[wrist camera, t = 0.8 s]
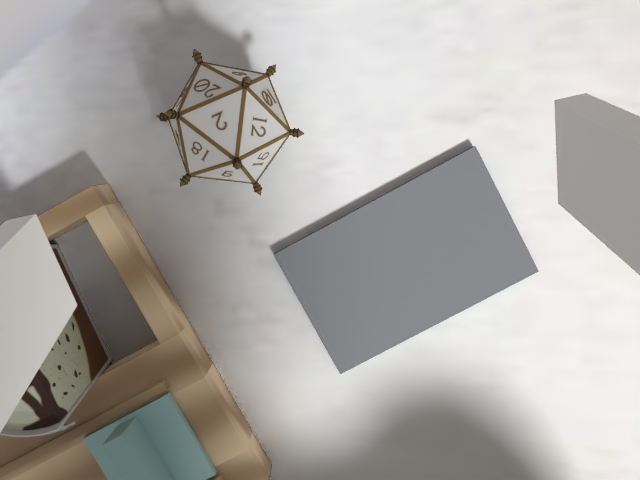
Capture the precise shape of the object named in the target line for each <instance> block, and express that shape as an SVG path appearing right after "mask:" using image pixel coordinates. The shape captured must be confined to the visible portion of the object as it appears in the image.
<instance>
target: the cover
mask: <svg viewBox="0 0 640 480" xmlns="http://www.w3.org/2000/svg"><path fill="white" fill-rule="evenodd" d="M83 440H84V442H85V444H86V445H87V447H88V449H89V450H90V452H91V453H92V455H93V457H94V458H95V460H96V462H97V463H98V465H99V466H100V468H101V470H102V471H103V473H104V475H105V476H106V478H107V479H108V480H206V479H208V478H210V477H212V476H214V475H216V472H217V471H216V469H215V467H214V466H213V464H212V462H211V461H210V459H209V457H208V455H207V454H206V452H205V450H204V449H203V447H202V445H201V444H200V442H199V440H198V439H197V437H196V435H195V434H194V432H193V430H192V428H191V427H190V425H189V423H188V422H187V420H186V418H185V417H184V415H183V413H182V412H181V410H180V408H179V407H178V405H177V403H176V402H175V400H174V398H173V396H172V395H171V393H170V392H168V393H166V394H164V395H162V396H160V397H158V398H156V399H154V400H153V401H151V402H149V403H147V404H145V405H143V406H141V407H139V408H137V409H135V410H134V411H132V412H130V413H128V414H126V415H124V416H122V417H120V418H118V419H117V420H115V421H113V422H111V423H109V424H107V425H105V426H103V427H101V428H99V429H98V430H96V431H94V432H92V433H90V434H88V435H86V436H85V437H84V438H83Z"/></svg>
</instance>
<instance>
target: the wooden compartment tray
mask: <svg viewBox="0 0 640 480" xmlns="http://www.w3.org/2000/svg"><path fill="white" fill-rule="evenodd" d="M37 217H38V219H39V221H40V224H41V226H42V228H43V230H44V232H45V235H46V237H47V239H48V241H49V242H50V241H52V240H54V239H55V238H57V237H59V236H61V235H63V234H64V233H66V232H68V231H70V230H71V229H73V228H75V227H77V226H79V225H80V224H82V223H84V222H86V221H88V222H89V224H90V226H91V227H92V229H93V231H94V232H95V234H96V236H97V237H98V239H99V241H100V243H101V244H102V246H103V248H104V249H105V251H106V253H107V254H108V256H109V258H110V260H111V261H112V263H113V265H114V266H115V268H116V270H117V271H118V273H119V275H120V276H121V278H122V280H123V282H124V283H125V285H126V287H127V288H128V290H129V292H130V293H131V295H132V297H133V299H134V300H135V302H136V304H137V305H138V307H139V309H140V310H141V312H142V314H143V316H144V317H145V319H146V321H147V322H148V324H149V326H150V327H151V329H152V331H153V332H154V334H155V336H156V338H157V339H158V340H156V341H154V342H152V343H150V344H148V345H146V346H145V347H143V348H141V349H139V350H137V351H135V352H133V353H132V354H130V355H128V356H126V357H124V358H122V359H120V360H118V361H117V362H115V363H113V364H111V365H109V366H107V368H106V369H105V370H104V371H103V373H102V374H101V375H100V376H99V377H98V379H97V381H96V382H95V383H94V385H93V386H92V387H91V389H90V390H89V391H88V393H87V394H86V395H85V397H84V398H83V399H82V401H81V402H80V403H79V405H78V406H77V407H76V409H75V410H74V411H73V412H72V414H71V415H70V416H69V418H68V419H67V420H66V422H65V423H64V424H63V425H65V424H68V423H71V422H74V421H75V423H76V424H74V425H72V426H70V427H68V428H66V429H65V430H62V431H58V432H55V433H52V434H47V435H41V436H32V437H10V436H4V435H0V480H108V479H107V478H106V476H105V475H104V473H103V471H102V470H101V468H100V466H99V465H98V463H97V462H96V460H95V458H94V457H93V455H92V453H91V452H90V450H89V449H88V447H87V445H86V444H85V442H84V440H83V438H84V437H85V436H86V435H88V434H90V433H92V432H94V431H96V430H98V429H99V428H101V427H103V426H105V425H107V424H109V423H111V422H113V421H115V420H117V419H118V418H120V417H122V416H124V415H126V414H128V413H130V412H132V411H134V410H135V409H137V408H139V407H141V406H143V405H145V404H147V403H149V402H151V401H153V400H154V399H156V398H158V397H160V396H162V395H164V394H166V393H168V392H170V393H171V395H172V396H173V398H174V400H175V402H176V403H177V405H178V407H179V408H180V410H181V412H182V413H183V415H184V417H185V418H186V420H187V422H188V423H189V425H190V427H191V428H192V430H193V432H194V434H195V435H196V437H197V439H198V440H199V442H200V444H201V445H202V447H203V449H204V450H205V452H206V454H207V455H208V457H209V459H210V461H211V462H212V464H213V466H214V467H215V469H216V471H217V472H216V475H214V476H212V477H210V478H208V479H206V480H269V478H270V472H271V467H272V464H271V462H270V461H269V459H268V457H267V455H266V454H265V452H264V450H263V449H262V447H261V445H260V443H259V442H258V440H257V438H256V437H255V435H254V433H253V431H252V430H251V428H250V426H249V424H248V423H247V421H246V419H245V418H244V416H243V414H242V412H241V411H240V409H239V407H238V406H237V404H236V402H235V400H234V399H233V397H232V395H231V393H230V392H229V390H228V388H227V387H226V385H225V383H224V381H223V380H222V378H221V376H220V375H219V373H218V371H217V369H216V368H215V366H214V364H213V362H212V361H211V359H210V357H209V356H208V354H207V352H206V350H205V349H204V347H203V345H202V344H201V342H200V340H199V338H198V337H197V335H196V333H195V332H194V330H193V328H192V326H191V325H190V323H189V321H188V319H187V318H186V316H185V314H184V313H183V311H182V309H181V307H180V306H179V304H178V302H177V301H176V299H175V297H174V295H173V294H172V292H171V290H170V288H169V287H168V285H167V283H166V282H165V280H164V278H163V276H162V275H161V273H160V271H159V270H158V268H157V266H156V264H155V263H154V261H153V259H152V257H151V256H150V254H149V252H148V251H147V249H146V247H145V245H144V244H143V242H142V240H141V239H140V237H139V235H138V233H137V232H136V230H135V228H134V226H133V225H132V223H131V221H130V220H129V218H128V216H127V214H126V213H125V211H124V209H123V208H122V206H121V204H120V202H119V201H118V199H117V197H116V195H115V194H114V192H113V190H112V189H111V187H110V185H109V184H105V185H92V186H91V187H89V188H87V189H85V190H84V191H82V192H80V193H78V194H76V195H75V196H73V197H71V198H69V199H67V200H66V201H64V202H62V203H60V204H59V205H57V206H55V207H53V208H51V209H50V210H48V211H46V212H44V213H42V214H41V215H39V216H37Z"/></svg>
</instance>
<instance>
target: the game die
mask: <svg viewBox="0 0 640 480" xmlns="http://www.w3.org/2000/svg"><path fill="white" fill-rule="evenodd" d="M192 57H194V59H195V60H194V61H196V62H197V64H198V65H197V67H196V68H195V70H194V72H193V74H192V75H191V77H190V79H189V81H188V82H187V84H186V86H185V88H184V89H183V91H182V93H181V95H180V96H179V98H178V100H177V102H176V103H175V105H174V107H173V109H170V110H168V111H167V112H165V114H164V113H160V115H158V116H157V117H158V118H159V119H160V120H161V121H165V122H166V121H167V120H169V123H170V126H171V129H172V132H173V135H174V137H175V140H176V143H177V146H178V149H179V152H180V155H181V158H182V161H183V164H184V167H185V169H186V172H187V174H186V175H185V176H183V177H182V179H181V178H180V180H181V182H180V187H181V186H183V185H186V184H187V183H188V182H189V181H190V178H191V177H199V178H208V179H216V180H225V181H234V182H242V183H251V184H253V188H254V190H255V191H254V192H257V193H258V194H259V195H261V190H262V188H261V186H260V185H259V183H258V180H259V178H260V177H261V176H262V174H263V173H264V171H265V170H266V168H267V167H268V166H269V164H270V163H271V161H272V160H273V158H274V157H275V155H276V154H277V153H278V151H279V150H280V148H281V147H282V145H283V144H284V143H285V141H286V140H287V138H288V137H289V135H292V136H293V137H297V138H298V137H299V136H301V135H303V134H304V133H303V132H302V131H300V130H299V128H298V129H295V128H294V129H292V130H291V129H290V127H289V125H288V122H287V120H286V117H285V115H284V112H283V110H282V107H281V105H280V103H279V100H278V98H277V95H276V93H275V90H274V88H273V85H272V83H271V80H270V78H269V77H270V76H271V75H273V73H274V72H276V71H275V69H276V64H275V65H273V66H269V68H268V69H267V71H266V73H259V72H254V71H248V70H243V69H238V68H232V67H227V66H222V65H216V64H211V63H205V62H203V61H202V57H201V53H199V52H198V51H196V50H195V49H194V51H193V56H192Z"/></svg>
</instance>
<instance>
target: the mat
mask: <svg viewBox="0 0 640 480" xmlns="http://www.w3.org/2000/svg"><path fill="white" fill-rule="evenodd" d="M274 256H275V257H276V259H277V261H278V263H279V265H280V266H281V268H282V270H283V272H284V274H285V275H286V277H287V279H288V281H289V283H290V284H291V286H292V288H293V290H294V292H295V293H296V295H297V297H298V299H299V301H300V302H301V304H302V306H303V308H304V310H305V311H306V313H307V315H308V317H309V319H310V320H311V322H312V324H313V326H314V328H315V329H316V331H317V333H318V335H319V337H320V338H321V340H322V342H323V344H324V346H325V347H326V349H327V351H328V353H329V355H330V356H331V358H332V360H333V362H334V364H335V365H336V367H337V369H338V371H339V373H340V374H342V373H343V372H345V371H347V370H349V369H351V368H353V367H355V366H357V365H359V364H361V363H363V362H365V361H367V360H369V359H370V358H372V357H374V356H376V355H378V354H380V353H382V352H384V351H386V350H388V349H390V348H392V347H394V346H396V345H397V344H399V343H401V342H403V341H405V340H407V339H409V338H411V337H413V336H415V335H417V334H419V333H421V332H423V331H425V330H426V329H428V328H430V327H432V326H434V325H436V324H438V323H440V322H442V321H444V320H446V319H448V318H450V317H452V316H453V315H455V314H457V313H459V312H461V311H463V310H465V309H467V308H469V307H471V306H473V305H475V304H477V303H479V302H480V301H482V300H484V299H486V298H488V297H490V296H492V295H494V294H496V293H498V292H500V291H502V290H504V289H506V288H508V287H509V286H511V285H513V284H515V283H517V282H519V281H521V280H523V279H525V278H527V277H529V276H531V275H533V274H535V273H536V272H538V269H537V267H536V265H535V263H534V261H533V259H532V257H531V255H530V253H529V251H528V249H527V247H526V245H525V243H524V241H523V239H522V237H521V236H520V234H519V232H518V230H517V228H516V226H515V224H514V222H513V220H512V218H511V216H510V214H509V212H508V210H507V208H506V206H505V204H504V202H503V200H502V198H501V196H500V194H499V192H498V190H497V188H496V186H495V184H494V182H493V180H492V178H491V176H490V174H489V172H488V170H487V168H486V166H485V164H484V162H483V160H482V158H481V156H480V154H479V152H478V150H477V148H476V147H475V146H474V147H472V148H470V149H468V150H466V151H464V152H462V153H461V154H459V155H457V156H455V157H453V158H451V159H449V160H448V161H446V162H444V163H442V164H440V165H438V166H436V167H435V168H433V169H431V170H429V171H427V172H425V173H423V174H422V175H420V176H418V177H416V178H414V179H412V180H410V181H409V182H407V183H405V184H403V185H401V186H399V187H397V188H396V189H394V190H392V191H390V192H388V193H386V194H384V195H383V196H381V197H379V198H377V199H375V200H373V201H371V202H369V203H368V204H366V205H364V206H362V207H360V208H358V209H356V210H355V211H353V212H351V213H349V214H347V215H345V216H343V217H342V218H340V219H338V220H336V221H334V222H332V223H330V224H329V225H327V226H325V227H323V228H321V229H319V230H317V231H316V232H314V233H312V234H310V235H308V236H306V237H304V238H303V239H301V240H299V241H297V242H295V243H293V244H291V245H290V246H288V247H286V248H284V249H282V250H280V251H278V252H277V253H275V254H274Z"/></svg>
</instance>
